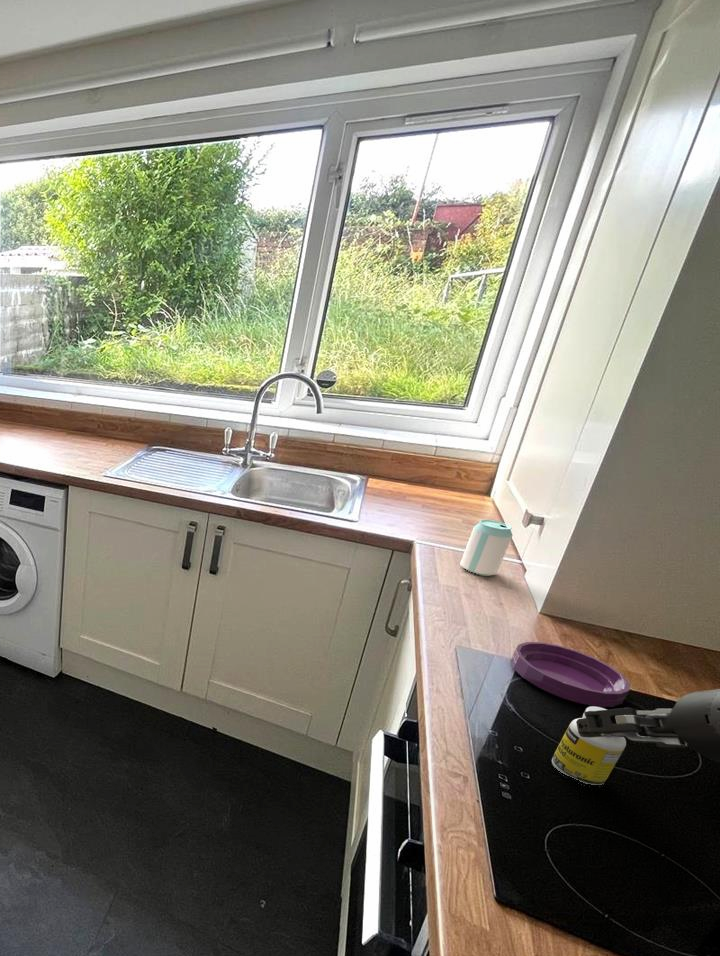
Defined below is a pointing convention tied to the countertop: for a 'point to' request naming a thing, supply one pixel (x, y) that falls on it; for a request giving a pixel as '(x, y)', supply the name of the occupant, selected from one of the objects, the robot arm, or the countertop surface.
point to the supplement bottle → (587, 754)
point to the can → (486, 547)
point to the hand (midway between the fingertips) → (618, 733)
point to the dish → (570, 674)
